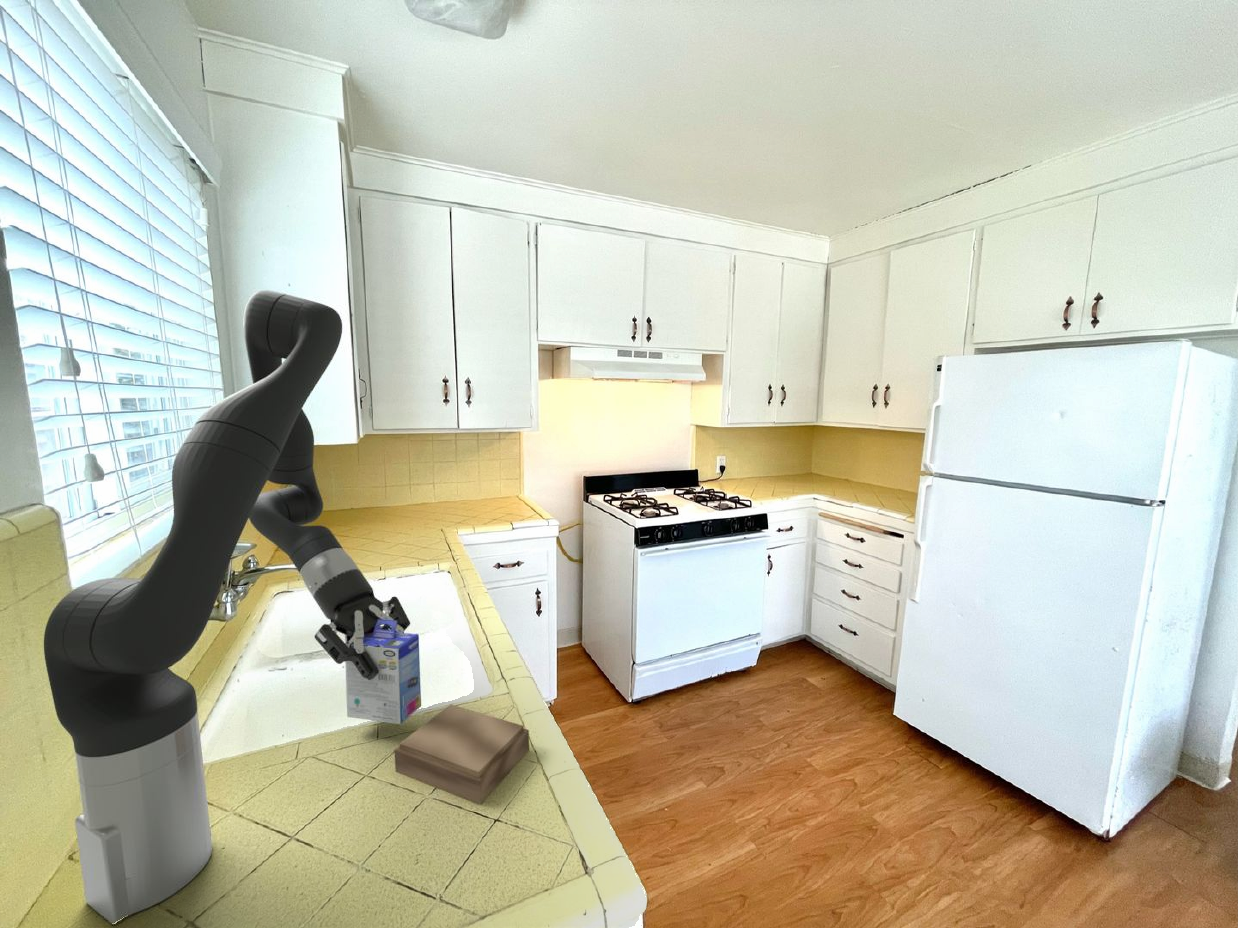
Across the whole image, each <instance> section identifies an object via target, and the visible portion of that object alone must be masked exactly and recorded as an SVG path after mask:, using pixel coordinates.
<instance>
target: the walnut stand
mask: <svg viewBox="0 0 1238 928" xmlns="http://www.w3.org/2000/svg"><path fill="white" fill-rule="evenodd" d="M524 727H525V726H524V725H522V724H519V723H515V722H511V721H509V720H505V719H501V718H498V717H495V716H492V715H488V714H485V713H482V712H478V711H475V710H472V709H468V708H464V707H461V706H458V705H455V704H448V706H446V707H445V708H444V709H442V710H441V711H440V712H439V713H437V714H436V715H434V717H432V718H431V719H429V720H427V722H426V723H424V724H423V725H422V726H420V727H419V728H418V729H416V730H415V731H414V732H412V733H411V734H410V735H409V736H408V737H406V738H404V739H403V740H402V741H401V742H399V746H398V747H396V748H395V749H394V750H393V751H394V752H393V753H394V765H395V766H394V767H395V772H397V773H399V774H402V775H404V776H406V777H409V778H412V779H414V780H416V781H419V782H421V783H422V782H423V783H424V784H427V785H429V786H431V787H435V788H437V789H438V790H439V789H440V790H442V791H445V792H447V793H449V794H452V795H455V796H458V797H460V798H462V799H464V800H467V801H470V802H472V803H475V804H477V805H482V804H483V803H484V802H485V800H486V799H487V798H488V797H489V796H490V795H491V793H492V792H493V791H494V790H495V789H496V788H497V786H499V784H500V783H501V782H502V781H503V780H504V779H505V778H506V777H507V775H508V774H510V772H511V771H512V770H513V769H514V767H515V766H516V765H517V764H518V763H519V762H520V761H521V760H522V758H524V757H525V755H526V754H527V753H528V752H529V751H530V735H529V734H530V733H529V729H527V728H524Z"/></svg>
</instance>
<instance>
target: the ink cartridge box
mask: <svg viewBox="0 0 1238 928" xmlns="http://www.w3.org/2000/svg"><path fill="white" fill-rule="evenodd" d="M397 622H398V621H395V620H385V619H378V621H377V624H376V626H375V629H374V632H371V633H367V634H366V635H364V638H363V646H364V651H363V652H364V653H365V652H367V653H368V655H369V656H370V658H371V659H372V661H373V662H374V664H375V665H376V667H377V668H378V670H379V673H378V674H377V675H376V676H375V677H374V678H373V679H371V680H368V679H367V678H364V677H362V675H361V674H360V672H359V671H358V669H357V668H356V666H355V665H354V663H353V662H351V661H346V662H344V664H345V665H344V666H345V688H346V689H345V690H346V691H345V692H346V693H345V694H346V716H347V718H354V719H361V720H367V721H376V722H381V723H382V722H383V723H388V724H389V723H391V724H396V725H401V724H402V723H403V722H405V721H406V720H407V719H408V718H409V717H410V716H412V715H413V714H414V713H415V712H416V711H417V710H419V709H420V708H421V707H422V693H421V692H422V691H421V690H422V689H421V687H422V686H421V667H420V665H421V663H420V636H419V633H408V632H404V633H398V632H395V630H396V627H397ZM384 624H387V625H390V626H392V630H390V629H389V630H383V629H379V626H384ZM349 641H350V640H349ZM349 641H348V642H346V643H345V642H344V643H345V644H346V645H347V646H348V645H349ZM351 648H352V649H353V648H354V643H353V644H352V645H351Z"/></svg>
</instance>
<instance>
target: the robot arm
mask: <svg viewBox="0 0 1238 928" xmlns="http://www.w3.org/2000/svg"><path fill="white" fill-rule="evenodd" d="M242 323H243V338H244V344H245V348H246V349H245V350H246V354H247V360H248V365H249V368H250V369H249V370H250V376H251V379H252V384H250V385H248V386H246V387H244V388H242V389H240V390H238V391H236V392H234V393H231V394H230V395H228V396H227V397H225V398H223V399H221V400H219V401H218V402H217V403H215V404H213V405H212V406H210V407H209V408H208V409H207V410H205V411H203V413H202V414H201V415H200V416H199V418H198V419H197V421H196V422H195V423H194V426H193V427H192V429H191V430H190V431H189V433H188V435H187V436H186V438H185V440H184V441H183V443H182V445H181V446H180V448H179V450H178V451H177V453H176V455H175V459H174V461H173V465H172V471H171V488H172V500H173V501H172V502H173V519H172V524H171V528H170V531H169V532H168V533H169V534H168V535H167V538H166V540H165V542H164V544H163V545H162V547H161V550H160V551H159V552H158V555H157V556H156V558H155V560H154V562H153V563H152V564H151V566H150V568H149V569H148V571H147V572H146V573H145V575H144V577H143V578H138V577H137V578H131V577H112V578H111V577H110V578H103V579H97V580H94V581H93V580H92V581H90V582H87V583H85V584H83V585H80V586H78V587H76V588H75V589H73V590H72V591H70V592H69V593H67V594H65V596H64V597H62V599H61V600H60V601H59V602H58V603H57V604H56V606H55V607H54V608H53V610H52V611H51V613H50V615H49V618H48V620H47V622H46V625H45V628H44V634H43V655H44V660H45V666H46V672H47V677H48V682H49V686H50V690H51V694H52V700H53V705H54V709H55V712H56V717H57V719H58V721H59V723H60V724H61V727H63V728H64V729H65V732H66V731H67V733H68V734H69V735H70V737H71V739H72V742H73V748H74V753H75V754H74V755H75V762H76V763H75V764H76V770H77V777H78V784H79V792H80V800H81V808H82V813H81V814H80V815H78V816H76V818H75V819H74V823H75V824H74V825H75V832H76V839H77V846H78V855H79V862H80V868H81V875H82V882H83V883H82V884H83V890H84V897H85V903H86V904H88V905H89V906H90V907H91V908H92V909H93V910H94V911H96V912H97V913H98V914H99V915H100V916H101V917H103V916H104V917H105V918H106V919H107V920H109V921H110V922H111V923H115V922H116V921H118V920H120V919H122V918H123V917H125V916H127V915H129V916H131V915H133V914H136V913H138V912H141V911H143V910H146V909H149V908H150V907H152V906H154V905H157V904H159V903H161V902H163V901H164V900H166V899H168V898H169V897H170V896H173V895H174V894H175V893H177V892H179V891H180V890H181V889H182V888H184V887H185V886H187V885H188V884H189V883H190V882H191V881H192V880H193V879H194V878H195V877H197V875H198V874H199V873H200V872H201V871H202V870H203V869H204V868H205V866H206V864H207V863H208V862H209V860H210V858H211V856H212V850H213V844H212V829H211V824H210V816H209V815H210V813H209V805H208V804H209V803H208V796H207V788H206V787H207V786H206V777H205V767H204V758H203V750H202V749H203V748H202V747H203V746H202V739H201V730H200V721H199V713H198V712H199V710H198V699H197V694H196V690H195V688H194V686H193V684H192V683H190V682H189V681H188V680H187V679H184V678H183V677H181V676H180V675H178V674H176V673H175V672H173V670H171V669H170V667H171V668H172V667H173V666H174V665H175V664H177V663H179V661H181V660H182V659H183V658H184V657H185V656H187V654H189V653H190V651H192V649H193V648H194V647H195V645H196V643H197V642H199V640H200V638H201V636H202V634H203V632H204V630H205V629H206V627H207V624H208V622H209V620H210V617H211V615H212V612H213V610H214V607H215V604H216V601H217V598H218V596H219V593H220V590H221V588H222V585H223V583H224V582H223V581H224V579H225V576H226V574H227V571H228V568H229V565H230V562H231V561H232V560H231V559H232V557H233V554H234V552H235V549H236V546H237V545H238V542H239V540H240V538H241V536H242V534H243V530H244V529H245V527H246V524H247V523H248V520H249V521H250V523H251V524H252V526H253V527H254V528H255V530H257V532H258V533H260V534H261V535H262V536H263V537H265V538H266V539H267V540H268V541H270V542H271V543H273V544H274V545H275V546H277V547H278V548H279V549H280V550H281V551H282V552H283V553H285V554H286V555H287V557H289V559H290V561H291V562H292V563H293V565H294V567H295V568H296V569H297V571H298V573H299V574H300V576H301V578H302V581H303V583H304V585H305V587H306V589H307V590H308V592H309V593H310V595H311V596H312V598H313V600H314V601H315V603H316V604H317V606H318V608H320V610H321V612H322V613H323V615H324V617H325V618H326V619H328V620H330V621H329V622H330V623H329V624H327V623H324V624H321V626H320V628H319V629H318V630H317V631H316V632H315V634H314V636H313V637H314V639H315V640H316V641H317V643H318V644H319V645H320V646H321V647H322V648H323V650H324V651H325V652H327V654H328V655H329V657H331V658H332V660H333V661H334V662H335V663H336V664H338V665H341V664H343V663H345V662H346V661H351V662H353V663H354V665H355V666H356V668H357V669H358V671H359V672H360V674H361V675H362V677H364V678H367V679H368V680H371V679H373V678H374V677H375V676H376V675H377V674H378V673H379V670H378V668H377V667H376V665H375V664H374V662H373V661H372V659H371V658H370V656H369V655H368V653H367V652H365V653H364V652H363V651H364V646H363V638H364V635H366V634H367V633H371V632H374V629H375V626H376V624H377V621H378V619H385V620H395V621H398V622H397V627H396V630H395V632H398V633H405V631H406V630H407V628H409V626H410V625H411V621H410V620H409V617H408V616H407V613H406V611H405V609H404V607H403V605H402V604H401V602H400V600H399V598H398V597H397V596H392V597H391V598H390V599H389V600H385V601H381V600H380V599H378V598H377V597H376V596H375V593H374V589H373V587H372V585H371V584H370V583H369V581H368V580H367V579H366V577H365V575H364V574H363V572H362V571H361V570H360V568H359V567H358V565H357V564H356V563H355V561H354V560H353V558H352V557H351V556H350V555H349V554H348V553H347V551H346V550H344V548H343V546H342V545H341V544H340V542H339V540H338V539H337V537H336V536H335V535H334V533H333V532H332V531H331V530H330V528H328V527H327V526H325V525H321V524H320V525H317V524H316V525H308V524H310V523H314V522H315V521H316V520H318V519H319V517H320V516H321V515H322V512H323V510H324V502H323V498H322V495H321V493H320V490H319V486H318V483H317V480H316V475H315V470H314V452H315V451H314V449H315V435H314V431H313V428H312V424H311V422H310V420H309V418H308V416H307V414H306V412H304V410H303V407H304V405H305V404H306V402H307V399H309V396H310V395H311V394H312V392H313V390H314V389H315V387H316V386H317V384H318V383H319V381H320V379H321V378H322V376H323V375H324V374H325V372H326V370H327V369H328V367H329V365H330V364H331V362H332V361H333V359H334V358H335V357H334V356H335V355H336V352H337V350H338V348H339V346H340V343H341V340H342V339H341V338H342V334H343V321H342V319H341V316H340V313H338V311H337V310H335V309H334V308H333V307H331V306H329V305H327V304H323V303H320V302H317V301H313V300H310V299H306V298H302V297H298V296H294V295H290V294H286V293H282V292H279V291H274V290H269V289H262V290H261V289H260V290H259V291H256V292H255V293H253V295H251V296H250V298H249V299H248V301H247V303H246V305H245V308H244V313H243V320H242ZM282 359H283V360H284V361H283V360H282ZM268 481H269V482H271V483H273V484H276V485H285V486H286V485H287V487H282V488H278V489H273V490H269V491H265V492H262V491H263V489H264V487H265V485H266V483H267V482H268ZM288 485H289V486H288ZM290 485H291V486H290ZM379 629H383V630H392V626H390V625H387V624H384V625H380V626H379ZM338 633H341V634H343V635H344V640H343V639H342V638H341V637H340V636H339V634H338ZM349 640H350V641H349ZM344 641H345V642H344ZM348 641H349V645H348V646H347V645H346V644H345V643H346V642H348ZM353 643H354V648H353V649H352V648H351V645H352V644H353ZM104 917H103V918H104ZM127 917H128V916H127ZM105 918H104V919H105ZM106 919H105V920H106ZM107 920H106V921H107ZM109 921H108V922H109ZM110 922H109V923H110ZM111 923H110V924H111Z"/></svg>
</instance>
